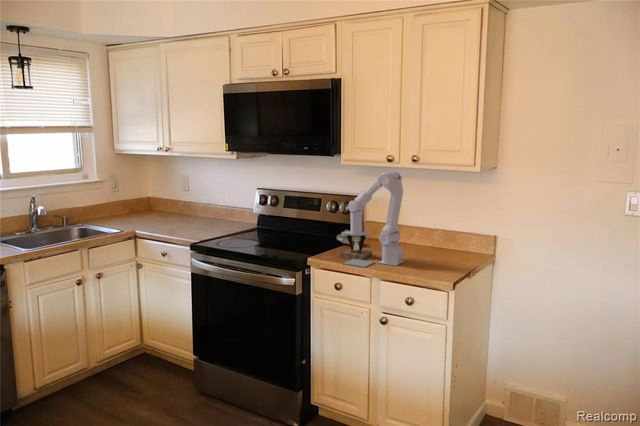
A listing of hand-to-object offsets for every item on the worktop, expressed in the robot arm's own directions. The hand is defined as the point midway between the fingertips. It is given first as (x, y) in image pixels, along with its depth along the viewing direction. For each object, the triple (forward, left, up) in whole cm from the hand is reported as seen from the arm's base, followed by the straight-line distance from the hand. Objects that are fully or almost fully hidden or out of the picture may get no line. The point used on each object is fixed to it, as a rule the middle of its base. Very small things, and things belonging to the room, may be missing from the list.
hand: (356, 250), depth 261 cm
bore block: (0, 0, -3) cm, 3 cm away
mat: (-8, +12, -3) cm, 15 cm away
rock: (+16, -23, -3) cm, 28 cm away
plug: (0, 0, -3) cm, 3 cm away
